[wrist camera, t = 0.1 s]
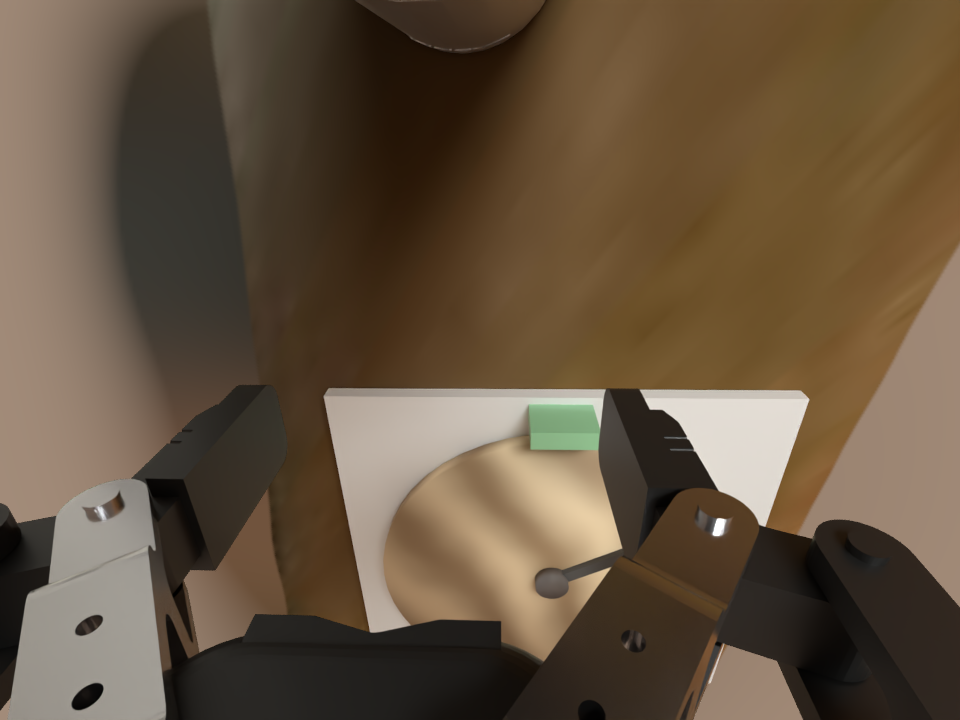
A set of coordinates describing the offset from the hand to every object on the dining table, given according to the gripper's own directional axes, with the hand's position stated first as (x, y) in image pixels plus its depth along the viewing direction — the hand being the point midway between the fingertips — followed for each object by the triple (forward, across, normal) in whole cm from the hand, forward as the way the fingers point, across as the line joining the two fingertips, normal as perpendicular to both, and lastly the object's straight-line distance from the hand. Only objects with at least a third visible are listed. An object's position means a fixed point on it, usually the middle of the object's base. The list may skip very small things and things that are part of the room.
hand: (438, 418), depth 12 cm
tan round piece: (+17, -5, +24) cm, 30 cm away
